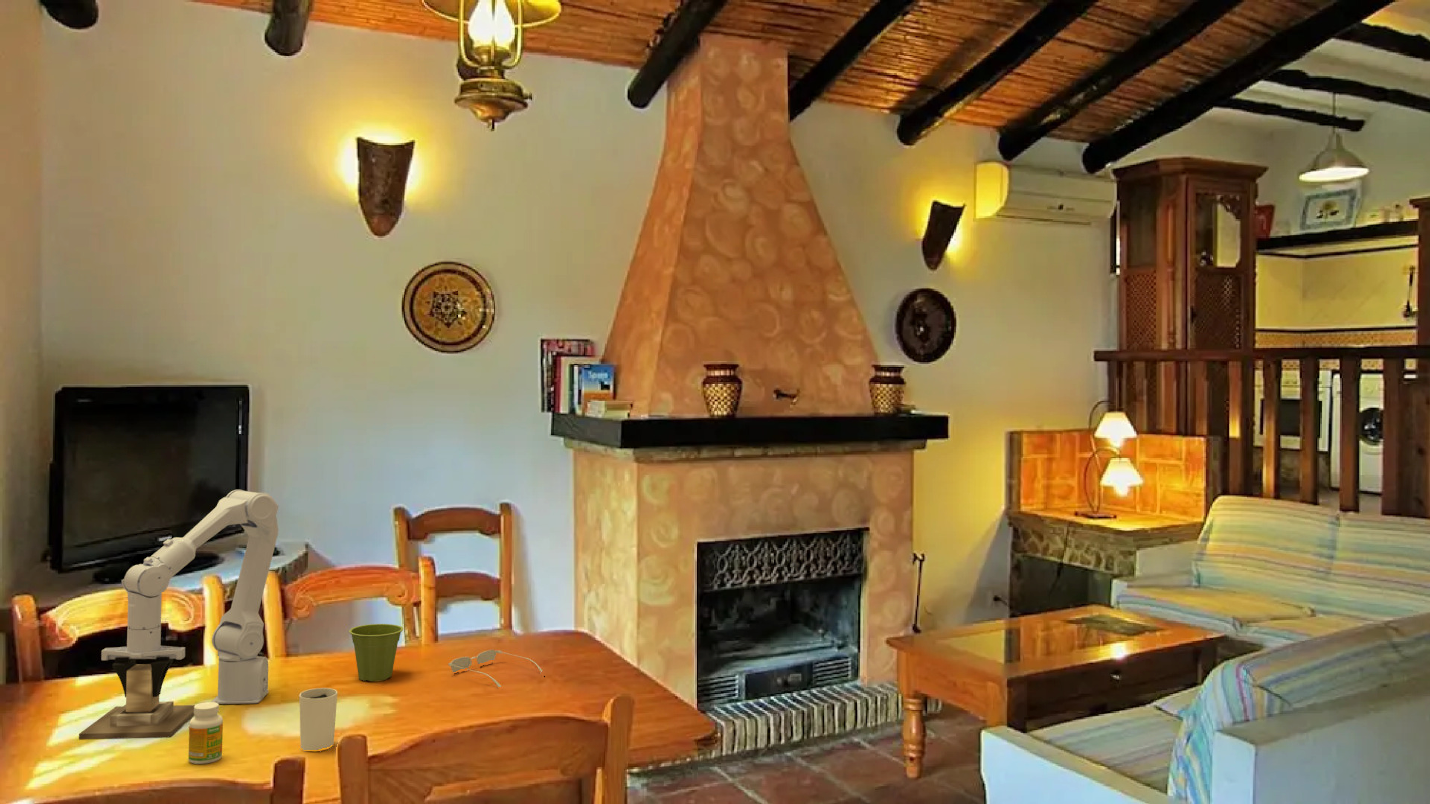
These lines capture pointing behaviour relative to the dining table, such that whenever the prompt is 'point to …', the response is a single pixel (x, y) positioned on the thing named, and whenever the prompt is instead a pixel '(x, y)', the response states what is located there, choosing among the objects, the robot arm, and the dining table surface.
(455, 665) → the eyeglasses
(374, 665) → the plant pot
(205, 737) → the supplement bottle
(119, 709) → the square peg socket base
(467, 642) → the dining table surface
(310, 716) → the beige cup
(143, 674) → the birch peg
